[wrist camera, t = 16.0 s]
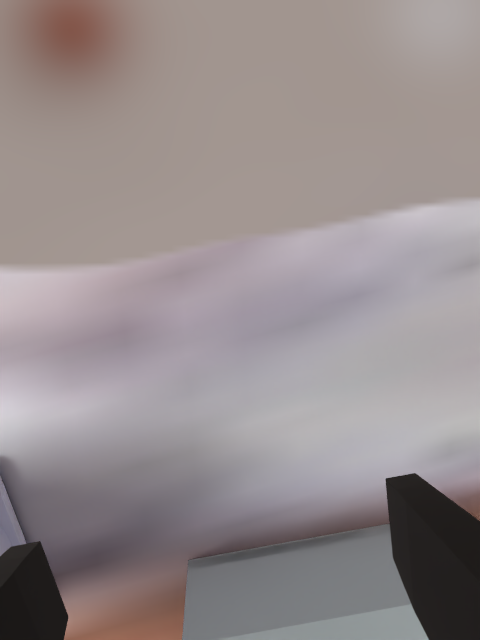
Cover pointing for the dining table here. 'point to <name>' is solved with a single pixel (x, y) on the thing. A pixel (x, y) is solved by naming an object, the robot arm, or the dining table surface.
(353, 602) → the socket block
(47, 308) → the dining table surface
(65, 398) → the dining table surface
